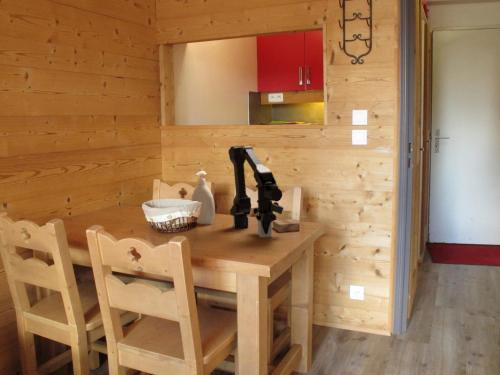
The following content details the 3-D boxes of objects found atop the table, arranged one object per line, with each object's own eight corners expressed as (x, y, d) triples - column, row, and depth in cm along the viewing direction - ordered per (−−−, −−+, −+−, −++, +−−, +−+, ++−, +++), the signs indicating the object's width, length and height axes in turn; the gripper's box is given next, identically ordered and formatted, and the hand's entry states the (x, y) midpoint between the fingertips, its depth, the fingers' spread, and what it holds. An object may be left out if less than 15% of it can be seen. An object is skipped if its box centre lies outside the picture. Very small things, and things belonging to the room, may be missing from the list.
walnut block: (279, 233, 232) (279, 224, 231) (272, 228, 241) (272, 220, 241) (299, 231, 234) (299, 223, 234) (292, 226, 244) (292, 218, 243)
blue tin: (260, 237, 222) (260, 222, 221) (258, 235, 227) (257, 219, 226) (271, 236, 223) (271, 221, 222) (268, 234, 228) (268, 219, 227)
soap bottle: (186, 223, 255) (184, 171, 251) (196, 220, 261) (194, 169, 258) (208, 226, 247) (206, 172, 243) (218, 223, 253) (217, 170, 250)
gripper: (287, 200, 216) (287, 236, 218) (276, 194, 234) (276, 227, 236) (262, 202, 213) (263, 237, 215) (252, 195, 231) (253, 228, 233)
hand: (264, 232), depth 225 cm, fingers closed on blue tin, 5 cm apart
